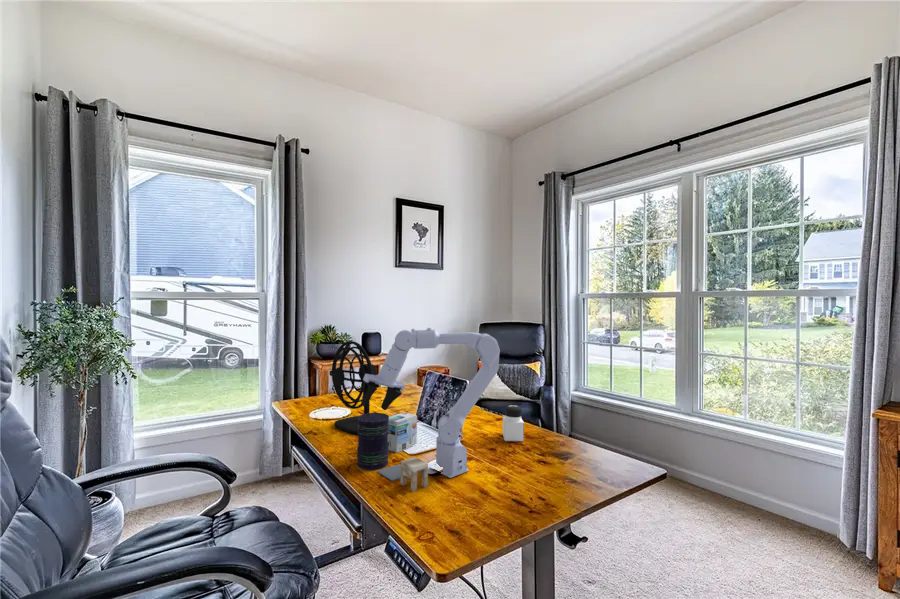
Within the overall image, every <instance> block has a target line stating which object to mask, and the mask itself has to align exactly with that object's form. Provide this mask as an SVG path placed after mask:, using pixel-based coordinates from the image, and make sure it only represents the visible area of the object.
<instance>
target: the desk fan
mask: <svg viewBox="0 0 900 599" xmlns="http://www.w3.org/2000/svg"><path fill="white" fill-rule="evenodd" d="M350 345H354V346H350ZM349 346H350V347H349ZM356 349H357V350H358V351H359V353H358V352H357V350H356ZM349 352H351V353H353V354H354V357H352V359H349V358H348V357H346V356H347V354H348V353H349ZM340 354H341V356H339V355H340ZM356 358H357V361H358V363H359V368H358V371H355V368H354V366H353V364H354V361H355V359H356ZM345 360H346V361H347V362H348V365H349V370H347V369H344V361H345ZM364 360H365V361H366V363H365V361H364ZM339 361H340V362H339ZM338 362H339V367H337V363H338ZM346 373H347V374H349V377H345V374H346ZM355 374H356V375H358V377H359V379H358V378H356V375H355ZM365 374H370V375H377V369H376V366H375V365H374V364H373V363H372V362H371V359H370V357H369V355H368V353H367V351H366V348H364V347H363V346H362V345H361V344H360V343H359V342H356V341H349V340H348V341H346V342H343V343H342V344H341V345H340V346H339V347H338V349H337V351H336V353H335V355H334V357H333V360H332V365H331V370H329V376H331V381H332V385H333V389H334V391H335V393H336V395H337V397H338V399H339V400H340V402H341V403H342V404H343V405H344V406H345V407H346V408H348V409H351V410H356V409H360V408H362V407H363V414H366V413H370V401H371V399H370V400H369V402H368V404H367V406H366V407H364V406H363V405H362V404H361V401H362V396H363V378H364V376H365ZM345 381H347V382H348V381H349V382H350V383H351V388H350V389H349V391H348V390H347V387H346V385H345ZM355 382H356V383H361V385H360V389H358V388H357V386H356V385H355V384H356V383H355ZM342 389H343V391H342ZM353 390H355V391H356V392H358V395H357V397H356V398H354V397H352V396H351V395H350V394H351V393H352V392H353ZM343 392H344V393H343ZM344 396H345V397H347V398H348V399H349V400H351V401H348V400H346V399H344ZM358 403H360V404H359V405H358ZM351 404H352V405H351ZM359 416H360V415H355V416H349V417H344V418H342V419H337V420H335V422H334V427H335V428H338V429H340V430H342V431H344V432H346V433H351V434H355V435H356V434H357V432H358V430H357V426H358V417H359ZM357 435H358V434H357Z"/></svg>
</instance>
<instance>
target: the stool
mask: <svg viewBox="0 0 900 599" xmlns="http://www.w3.org/2000/svg"><path fill="white" fill-rule="evenodd" d="M400 466H401V479H400V486H401V485H402V486H406V485H407V484H408V483H407V480H408V479H410V491H412V493H414V492H417V491H418V474H421V487H422V488H428V487H429V483H428V482H429V463H428V462H426V461H424V460H422V459H420V458H418V457H416V456H413V457H410V458H407V459H404V460H401V461H400ZM407 478H408V479H407Z"/></svg>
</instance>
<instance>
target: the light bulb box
mask: <svg viewBox="0 0 900 599" xmlns="http://www.w3.org/2000/svg"><path fill="white" fill-rule="evenodd" d="M417 433H418V415H416V414H412V413H409V412H405V411H403V412H401V413H397V414H393V415H391V416H389V434H388V451H390V452H393V453H396V454H397V453H399V452H402V451H404V449H405V450H407V449H406V448H408V447H410V446H413V445H415V444H417V442H418V441H417V440H418V439H417V437H418V434H417ZM415 446H416V445H415ZM413 447H414V446H413ZM410 448H411V447H410ZM408 449H409V448H408Z"/></svg>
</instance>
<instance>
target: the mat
mask: <svg viewBox="0 0 900 599" xmlns="http://www.w3.org/2000/svg"><path fill="white" fill-rule="evenodd" d="M376 472H377V473H378V474H380V475H381V476H383V478H386V479H388V480H389V481H391V482H395V481H398V480H401V464H395V465H392V466H389V467H384V468H382V469H379V470H376Z"/></svg>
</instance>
